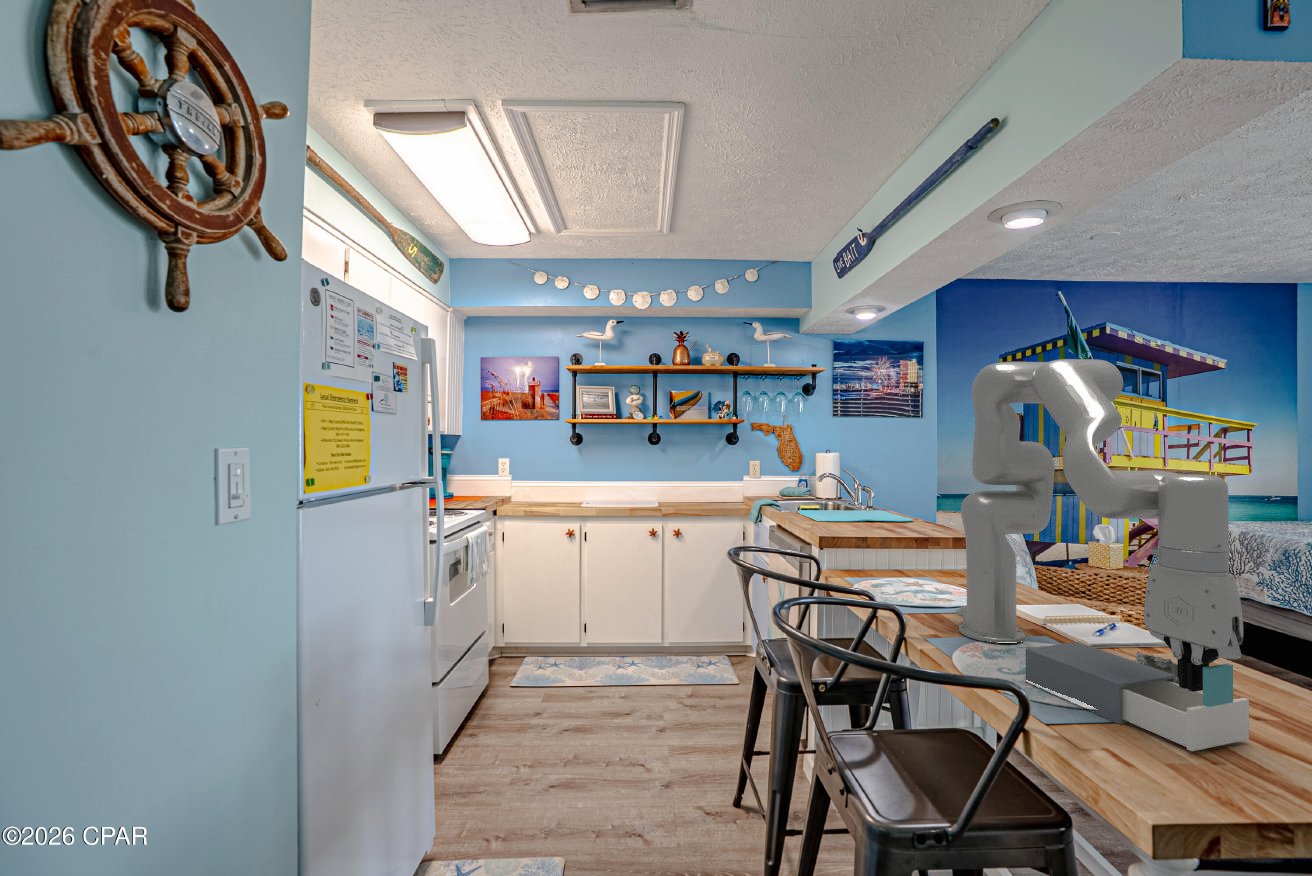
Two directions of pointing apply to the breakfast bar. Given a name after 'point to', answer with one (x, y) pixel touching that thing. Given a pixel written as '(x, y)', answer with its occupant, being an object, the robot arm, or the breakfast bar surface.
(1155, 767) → the breakfast bar surface
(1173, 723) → the grey drawer
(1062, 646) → the sleeve
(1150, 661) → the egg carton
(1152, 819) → the breakfast bar surface
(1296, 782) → the breakfast bar surface
